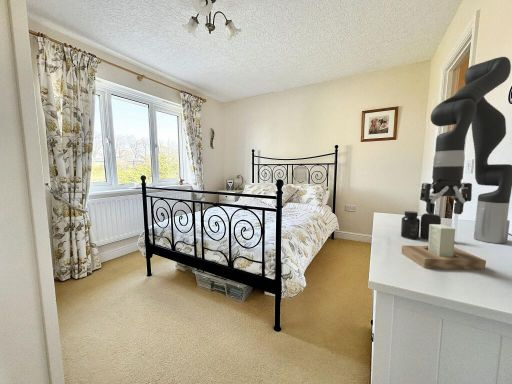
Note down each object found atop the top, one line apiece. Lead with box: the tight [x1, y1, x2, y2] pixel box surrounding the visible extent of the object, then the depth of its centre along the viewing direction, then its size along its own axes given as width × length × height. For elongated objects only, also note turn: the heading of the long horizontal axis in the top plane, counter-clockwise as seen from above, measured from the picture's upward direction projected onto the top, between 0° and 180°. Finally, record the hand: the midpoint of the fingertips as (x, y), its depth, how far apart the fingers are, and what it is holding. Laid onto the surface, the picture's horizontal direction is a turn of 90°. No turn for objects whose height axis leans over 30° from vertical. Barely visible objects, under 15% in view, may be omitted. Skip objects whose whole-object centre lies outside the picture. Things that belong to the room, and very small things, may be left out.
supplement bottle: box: [400, 210, 421, 240], centre depth 98 cm, size 7×7×12 cm
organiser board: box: [401, 245, 487, 271], centre depth 73 cm, size 18×12×3 cm, turn 86°
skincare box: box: [427, 223, 456, 257], centre depth 72 cm, size 6×4×12 cm
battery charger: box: [419, 212, 442, 240], centre depth 96 cm, size 7×4×11 cm, turn 46°
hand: (443, 213), depth 71 cm, fingers open, 8 cm apart
